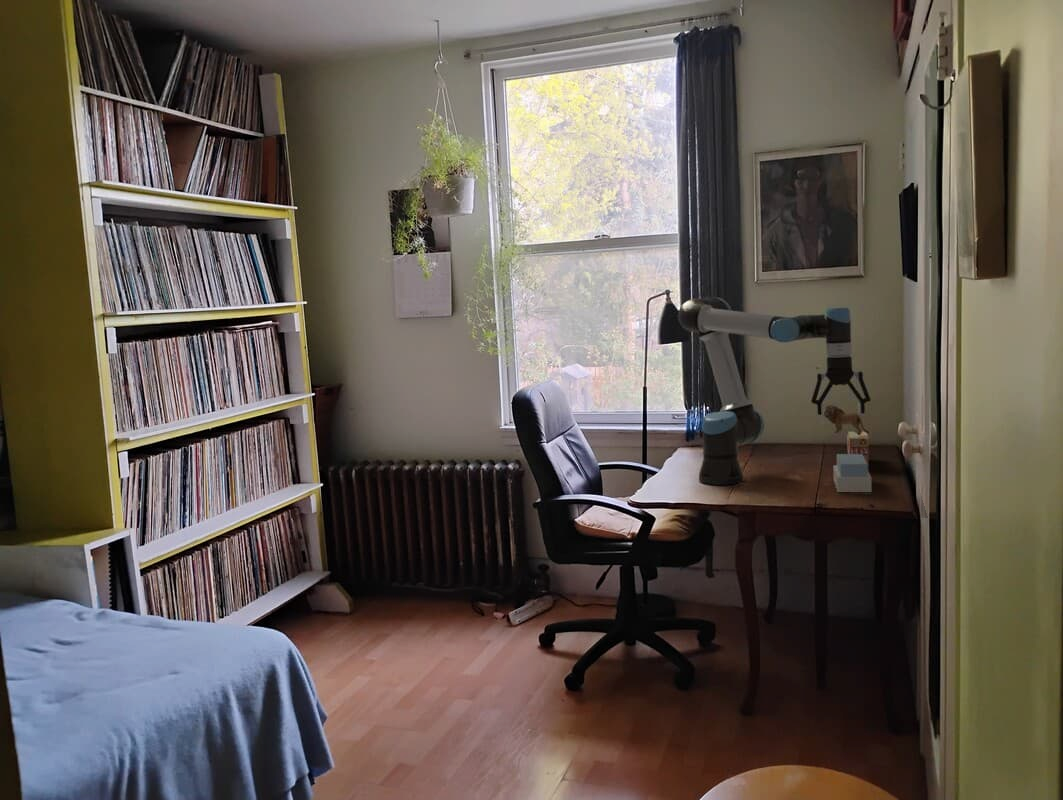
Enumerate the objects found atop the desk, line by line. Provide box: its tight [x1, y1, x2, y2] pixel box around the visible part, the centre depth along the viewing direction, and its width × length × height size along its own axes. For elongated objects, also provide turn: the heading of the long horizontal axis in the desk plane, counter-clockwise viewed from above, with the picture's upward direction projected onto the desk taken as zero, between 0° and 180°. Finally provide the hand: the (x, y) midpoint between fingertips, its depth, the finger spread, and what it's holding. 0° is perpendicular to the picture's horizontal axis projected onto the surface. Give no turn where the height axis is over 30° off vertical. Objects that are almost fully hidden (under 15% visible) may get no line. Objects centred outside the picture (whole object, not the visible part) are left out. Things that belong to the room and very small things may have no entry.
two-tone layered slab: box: [832, 453, 872, 493], centre depth 275 cm, size 10×18×9 cm, turn 164°
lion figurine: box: [824, 404, 870, 435], centre depth 272 cm, size 15×5×9 cm, turn 44°
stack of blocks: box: [846, 431, 870, 470], centre depth 304 cm, size 21×6×12 cm, turn 162°
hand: (841, 424), depth 273 cm, fingers closed on lion figurine, 10 cm apart
